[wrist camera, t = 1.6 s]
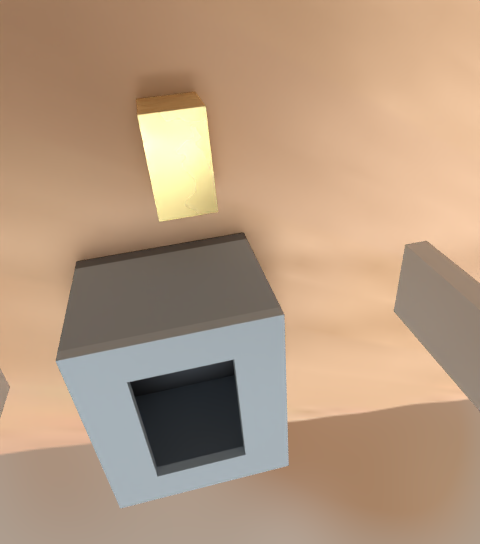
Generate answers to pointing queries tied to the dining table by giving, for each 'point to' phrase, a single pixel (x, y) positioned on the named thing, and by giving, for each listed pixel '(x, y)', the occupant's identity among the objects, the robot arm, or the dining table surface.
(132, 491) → the grey box with opening
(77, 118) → the dining table surface
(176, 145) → the rectangular block
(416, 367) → the dining table surface
